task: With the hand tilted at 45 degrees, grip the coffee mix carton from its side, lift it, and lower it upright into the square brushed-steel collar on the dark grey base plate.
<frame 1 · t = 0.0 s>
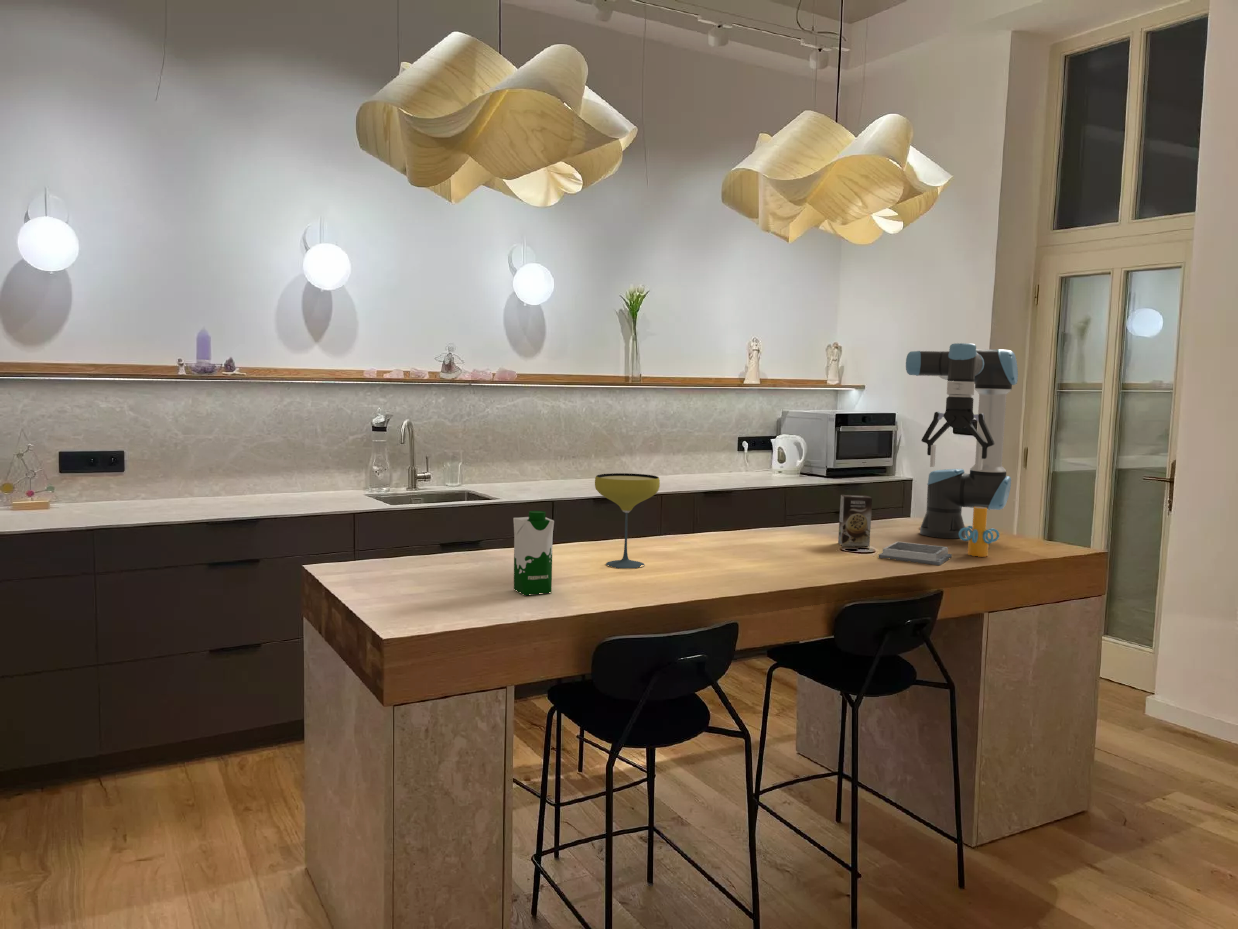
hand: (955, 468, 277), 28 cm above the countertop, tool pointing down, fingers open, 13 cm apart
yellow upright post: (977, 556, 291), on the countertop
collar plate: (915, 557, 285), on the countertop
cocktail glass: (625, 565, 263), on the countertop
milk carton: (532, 592, 228), on the countertop
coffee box: (853, 545, 304), on the countertop
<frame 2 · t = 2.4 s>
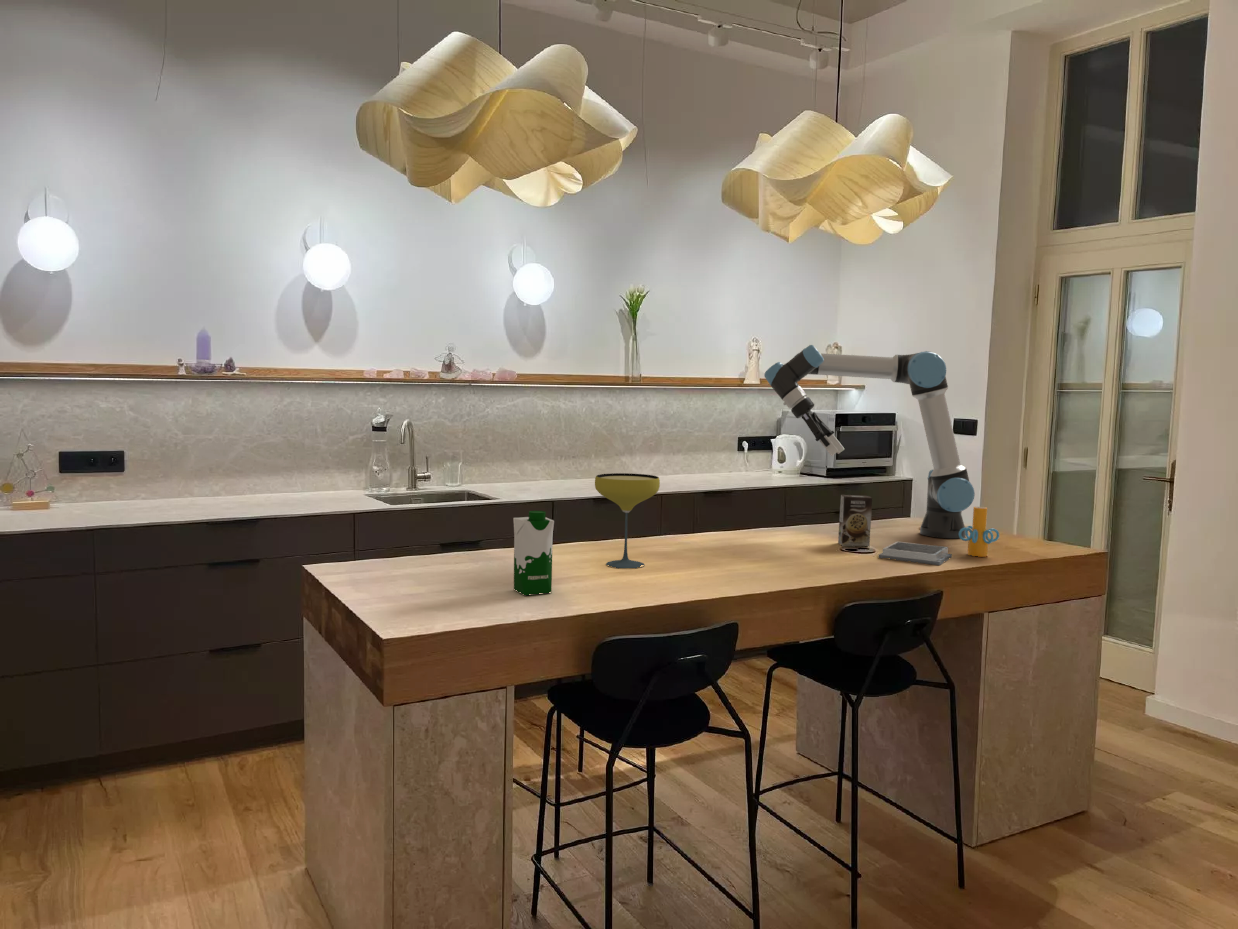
hand: (838, 452, 313), 29 cm above the countertop, tool tilted 40°, fingers open, 13 cm apart
nothing on the countertop moved.
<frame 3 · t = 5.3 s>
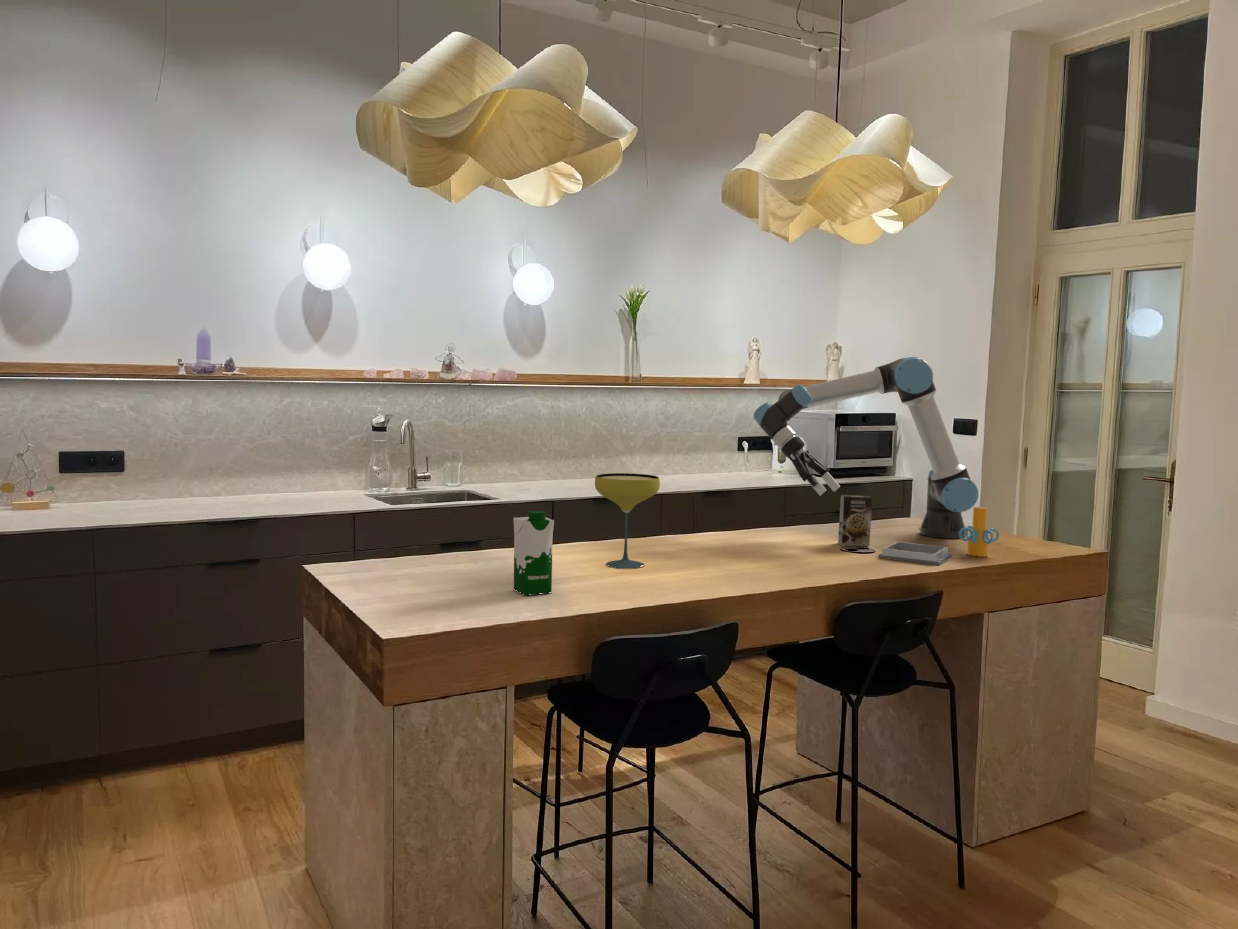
hand: (830, 491, 307), 17 cm above the countertop, tool tilted 45°, fingers open, 13 cm apart
nothing on the countertop moved.
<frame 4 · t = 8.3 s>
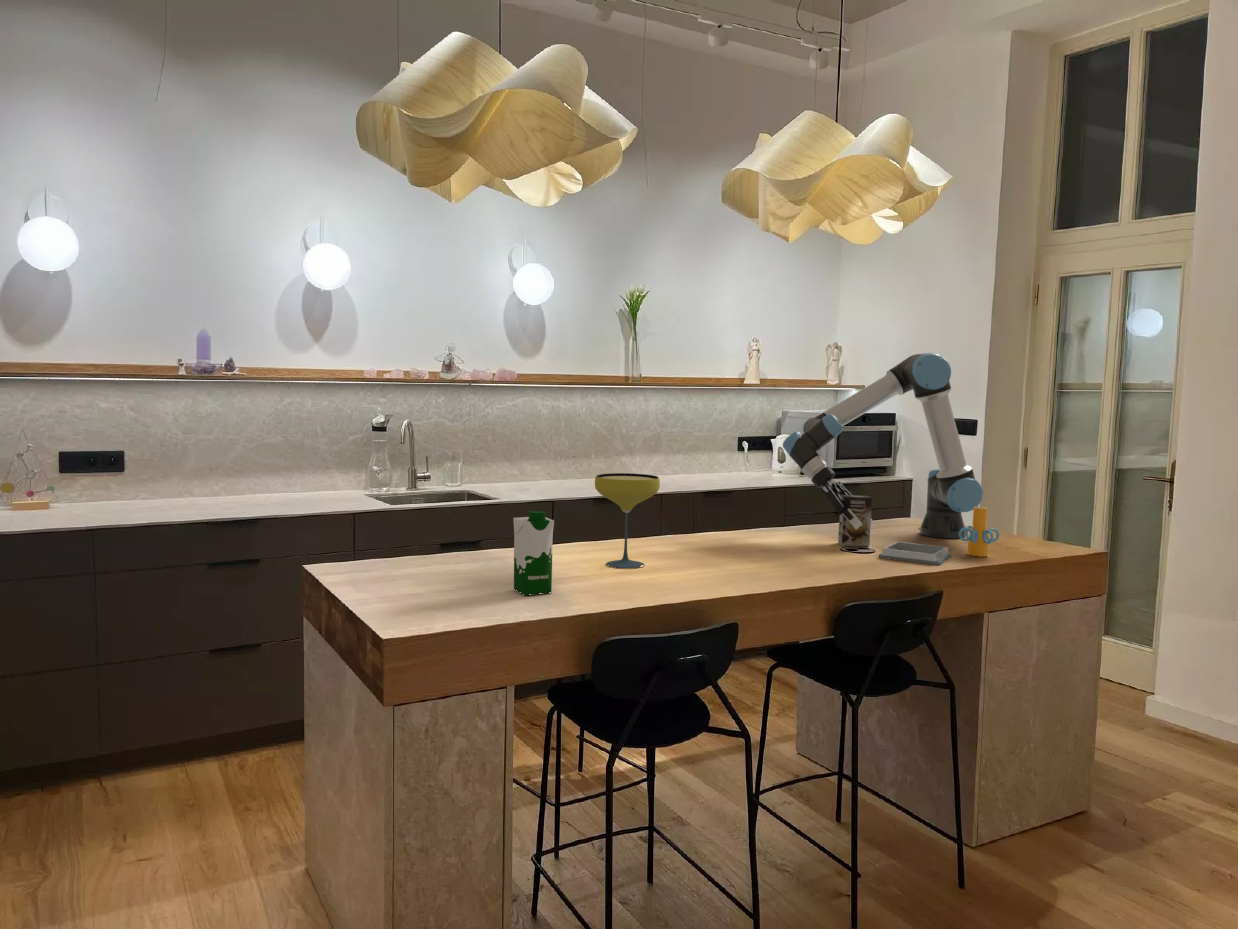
hand: (864, 524, 302), 7 cm above the countertop, tool tilted 45°, fingers closed on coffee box, 9 cm apart
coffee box: (853, 545, 304), on the countertop, touching gripper
everything else where it was.
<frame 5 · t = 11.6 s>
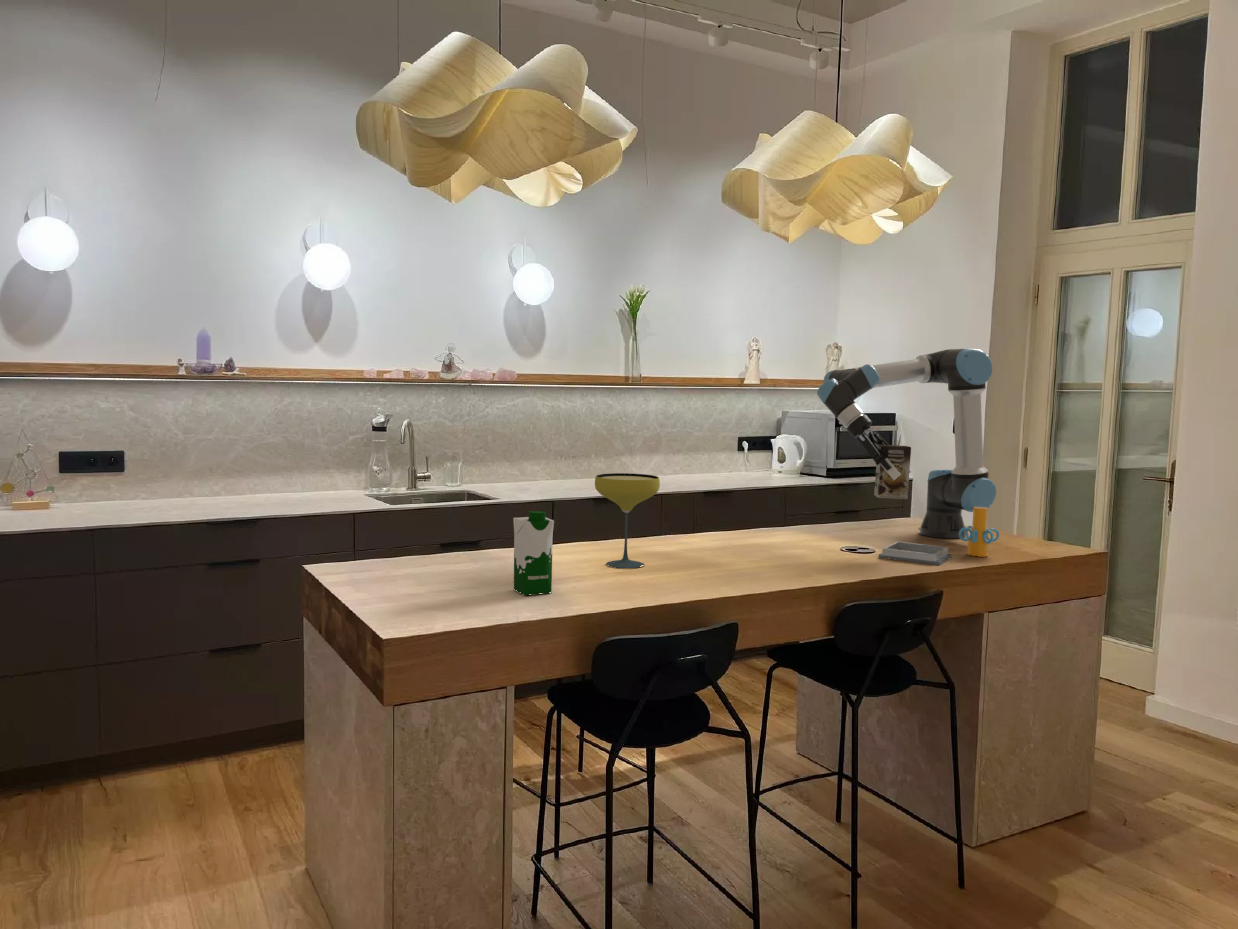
hand: (902, 476, 286), 24 cm above the countertop, tool tilted 45°, fingers closed on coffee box, 9 cm apart
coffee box: (890, 498, 289), point 17 cm above the countertop, touching gripper
everything else where it was.
when the fingers open (9 cm above the countertop, at t = 15.1 s): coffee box stays where it is, resting on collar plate.
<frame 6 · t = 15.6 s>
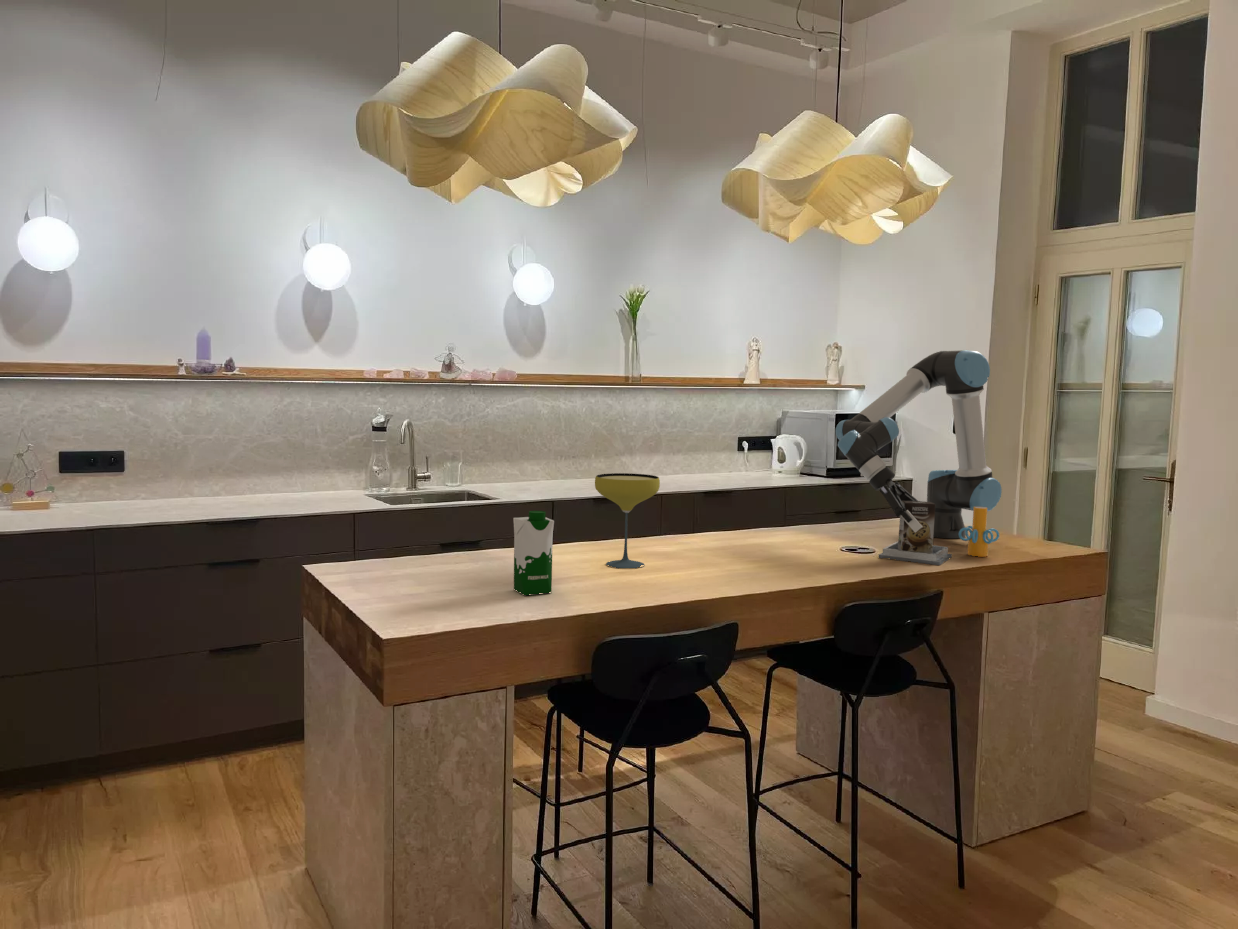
hand: (924, 526, 282), 10 cm above the countertop, tool tilted 45°, fingers open, 13 cm apart
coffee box: (914, 555, 284), point 1 cm above the countertop, touching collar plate
everything else where it was.
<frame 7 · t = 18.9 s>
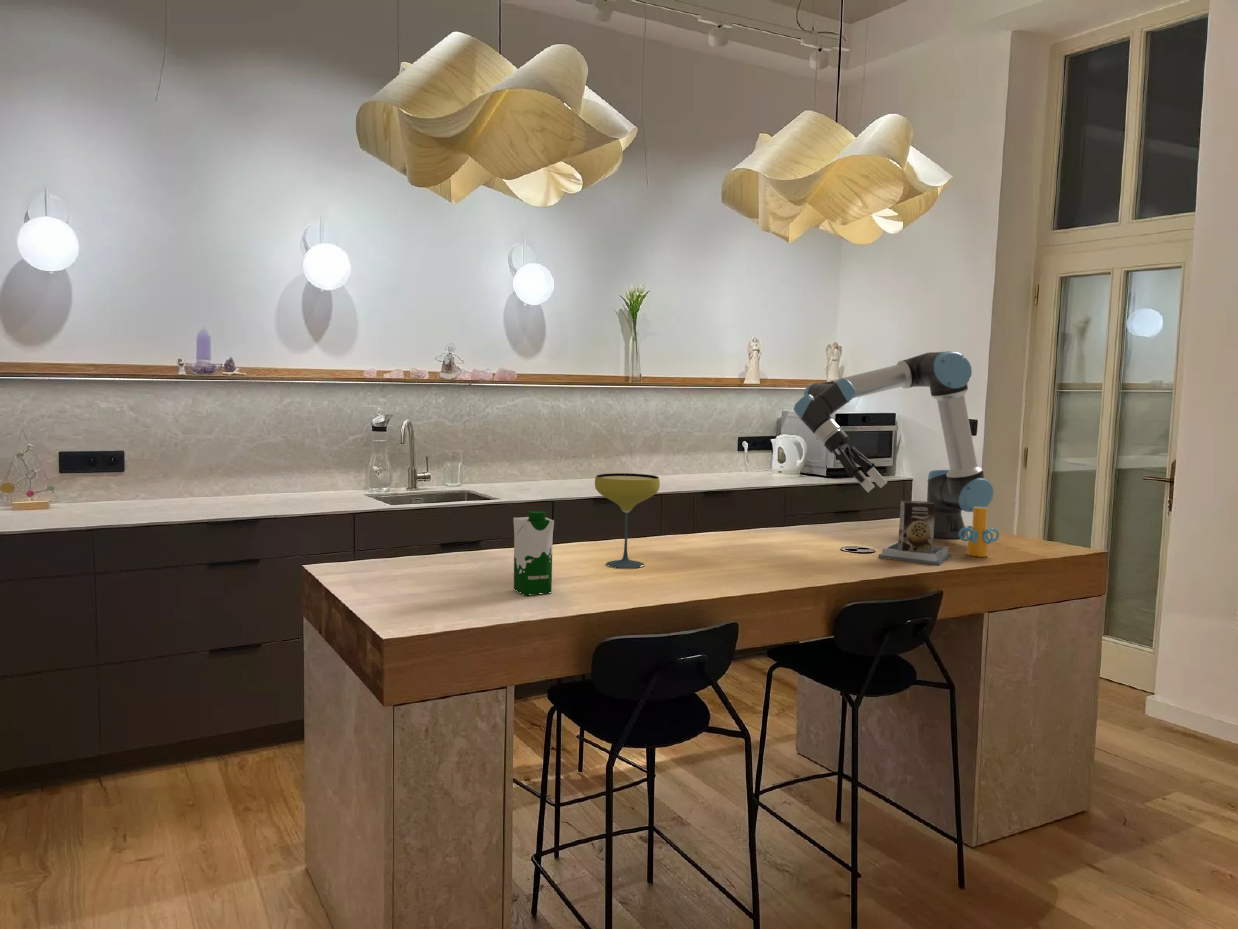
hand: (877, 487, 289), 20 cm above the countertop, tool tilted 45°, fingers open, 13 cm apart
nothing on the countertop moved.
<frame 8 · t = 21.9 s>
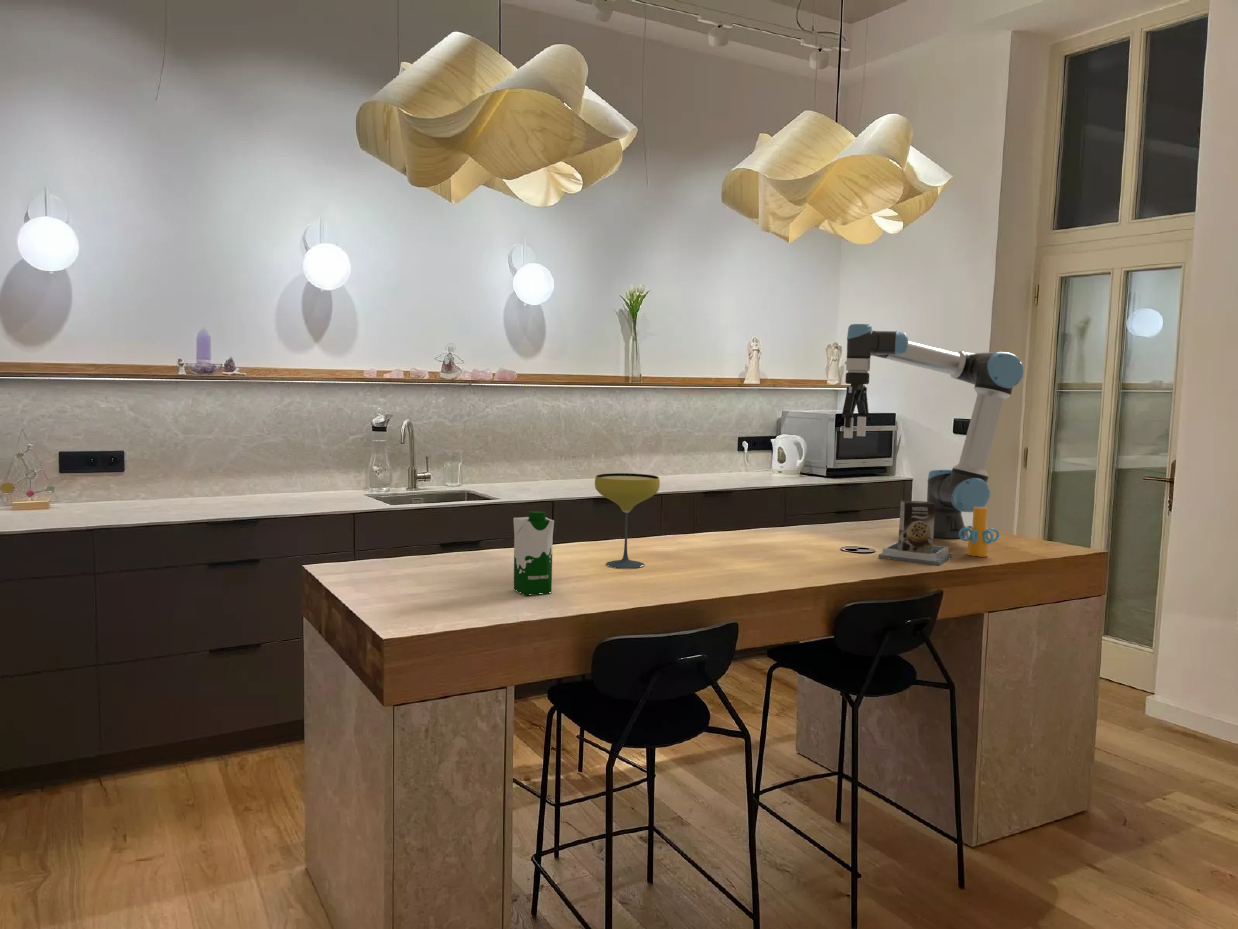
hand: (854, 437, 307), 35 cm above the countertop, tool pointing down, fingers open, 13 cm apart
nothing on the countertop moved.
at the end: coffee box 0.2 cm off-centre on the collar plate, point 0.8 cm above the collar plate's base; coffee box tilted 0°; the gripper is holding nothing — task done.
